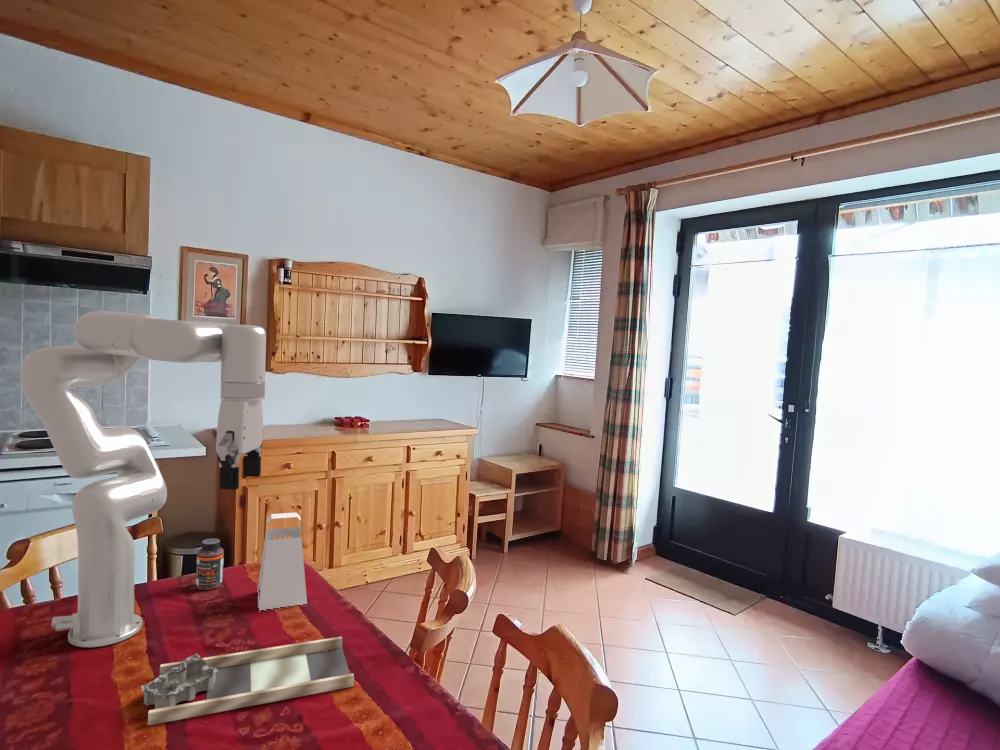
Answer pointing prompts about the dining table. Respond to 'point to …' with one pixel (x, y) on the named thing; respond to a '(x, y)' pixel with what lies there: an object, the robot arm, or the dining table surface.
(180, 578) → the dining table surface
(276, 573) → the grater
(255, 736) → the dining table surface
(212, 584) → the supplement bottle
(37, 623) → the dining table surface
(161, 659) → the dining table surface
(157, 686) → the egg carton
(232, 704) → the channel
